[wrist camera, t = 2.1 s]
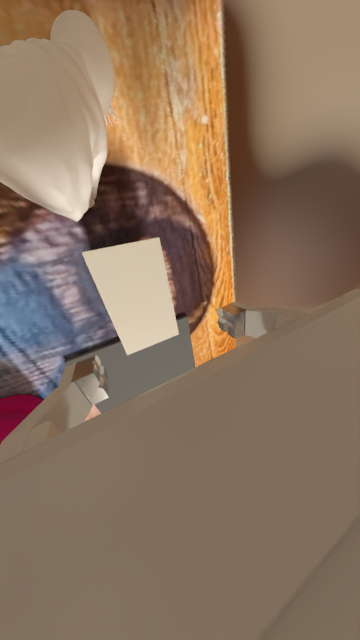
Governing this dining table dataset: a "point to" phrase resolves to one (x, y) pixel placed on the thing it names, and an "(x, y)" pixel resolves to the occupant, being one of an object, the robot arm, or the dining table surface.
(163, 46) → the dining table surface
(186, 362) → the mat
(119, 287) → the stool
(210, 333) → the dining table surface
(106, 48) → the white lumpy piece
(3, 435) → the pepper mill
